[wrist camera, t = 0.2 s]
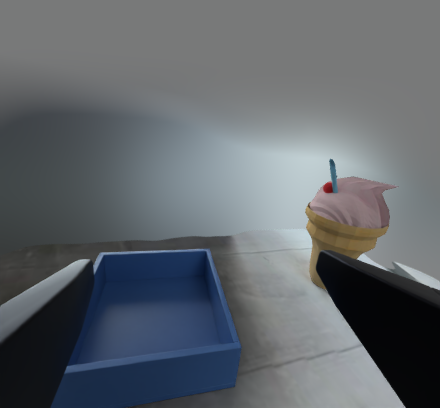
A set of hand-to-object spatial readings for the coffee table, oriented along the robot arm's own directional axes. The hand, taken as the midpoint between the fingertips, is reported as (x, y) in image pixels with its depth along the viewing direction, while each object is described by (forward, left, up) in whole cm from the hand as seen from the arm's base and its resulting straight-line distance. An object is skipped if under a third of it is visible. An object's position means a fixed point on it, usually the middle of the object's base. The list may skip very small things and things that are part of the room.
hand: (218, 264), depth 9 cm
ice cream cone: (+19, -24, -18) cm, 35 cm away
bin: (+14, +3, -18) cm, 23 cm away
